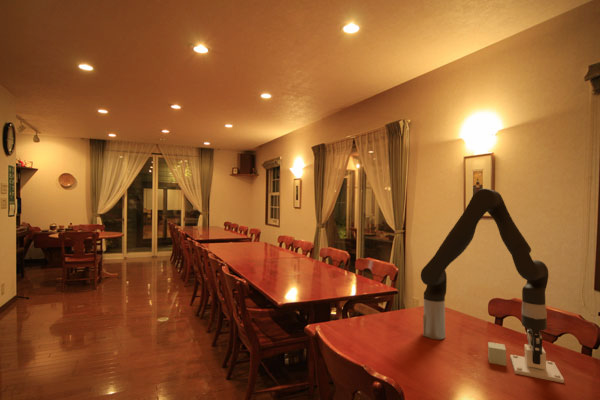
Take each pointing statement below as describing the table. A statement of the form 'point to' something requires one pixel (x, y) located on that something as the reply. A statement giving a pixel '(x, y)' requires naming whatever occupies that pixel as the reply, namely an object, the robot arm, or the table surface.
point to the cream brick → (530, 357)
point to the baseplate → (536, 369)
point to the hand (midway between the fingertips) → (534, 359)
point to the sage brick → (497, 353)
